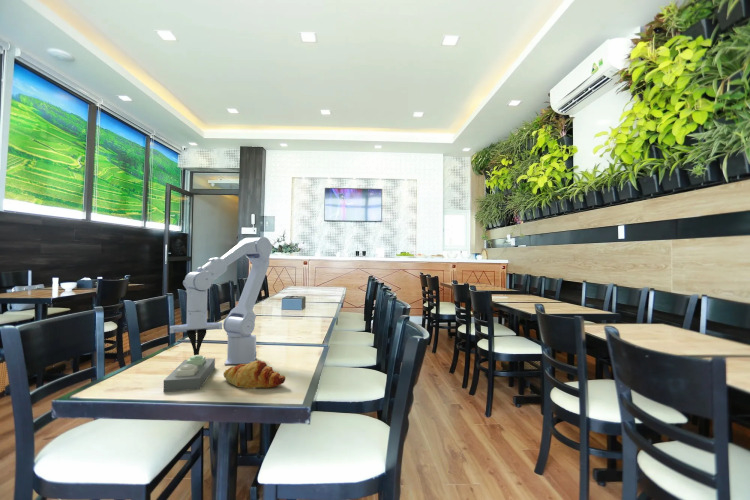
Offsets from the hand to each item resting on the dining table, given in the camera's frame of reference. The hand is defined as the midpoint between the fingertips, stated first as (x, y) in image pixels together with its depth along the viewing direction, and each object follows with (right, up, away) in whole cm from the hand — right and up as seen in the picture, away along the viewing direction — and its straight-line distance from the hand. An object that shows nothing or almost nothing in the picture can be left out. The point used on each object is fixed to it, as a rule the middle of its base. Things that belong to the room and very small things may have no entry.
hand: (196, 354), depth 113 cm
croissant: (+21, -6, -9) cm, 23 cm away
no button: (+2, -4, -10) cm, 11 cm away
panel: (+1, -6, -5) cm, 8 cm away
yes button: (0, -4, 0) cm, 4 cm away
